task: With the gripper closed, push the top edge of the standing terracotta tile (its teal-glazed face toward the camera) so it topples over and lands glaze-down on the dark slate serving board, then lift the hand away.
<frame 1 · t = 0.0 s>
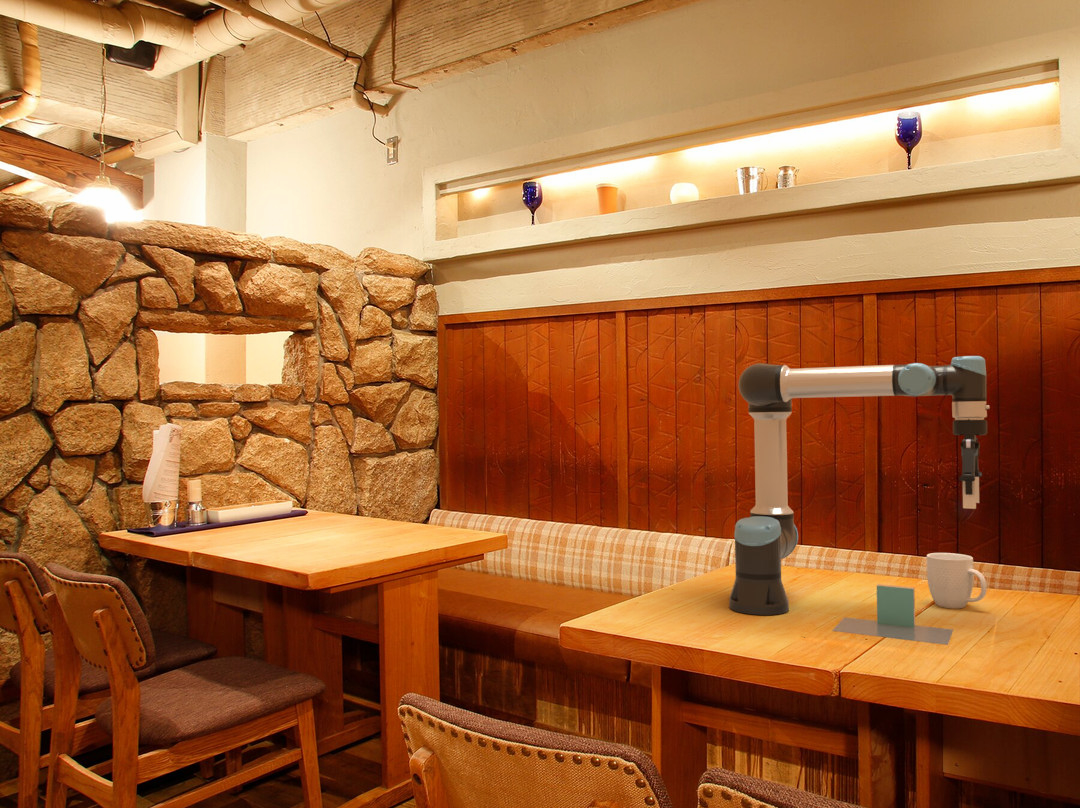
hand: (971, 505, 200), 28 cm above the table, fingers open, 13 cm apart
tile: (896, 624, 193), point 1 cm above the table, touching slate board
mug: (954, 607, 214), on the table
slate board: (892, 634, 188), on the table
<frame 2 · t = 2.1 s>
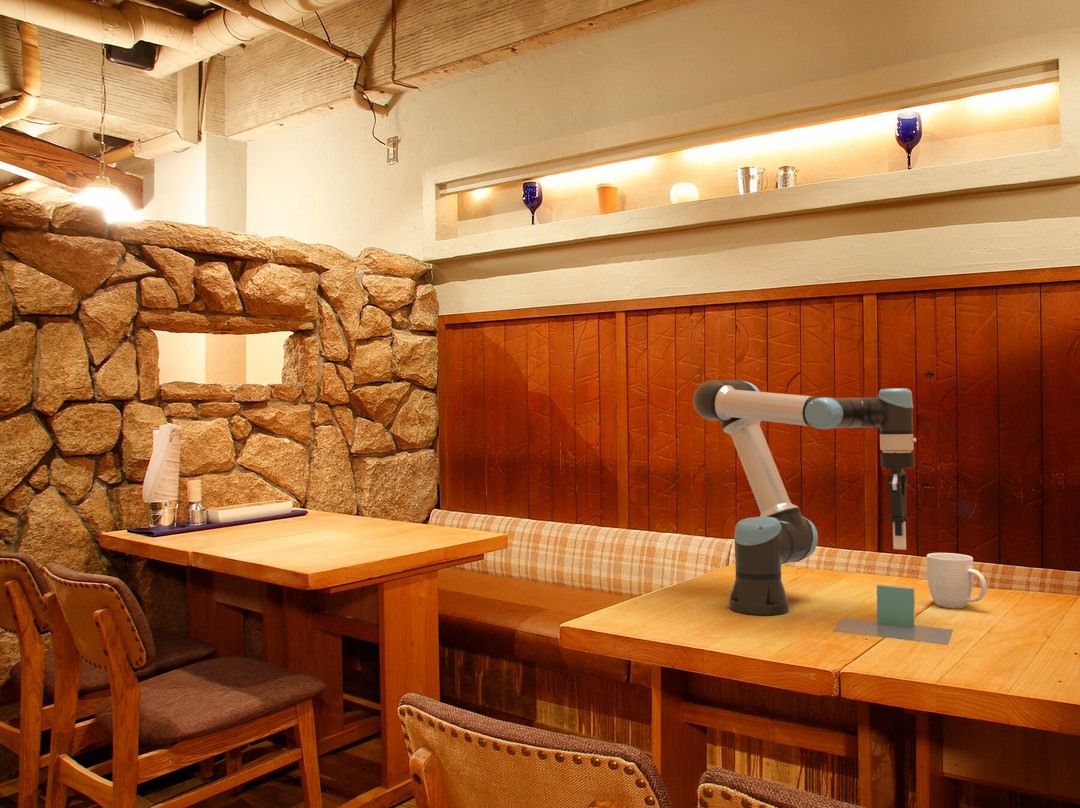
hand: (899, 548, 198), 18 cm above the table, fingers closed
nothing on the table moved.
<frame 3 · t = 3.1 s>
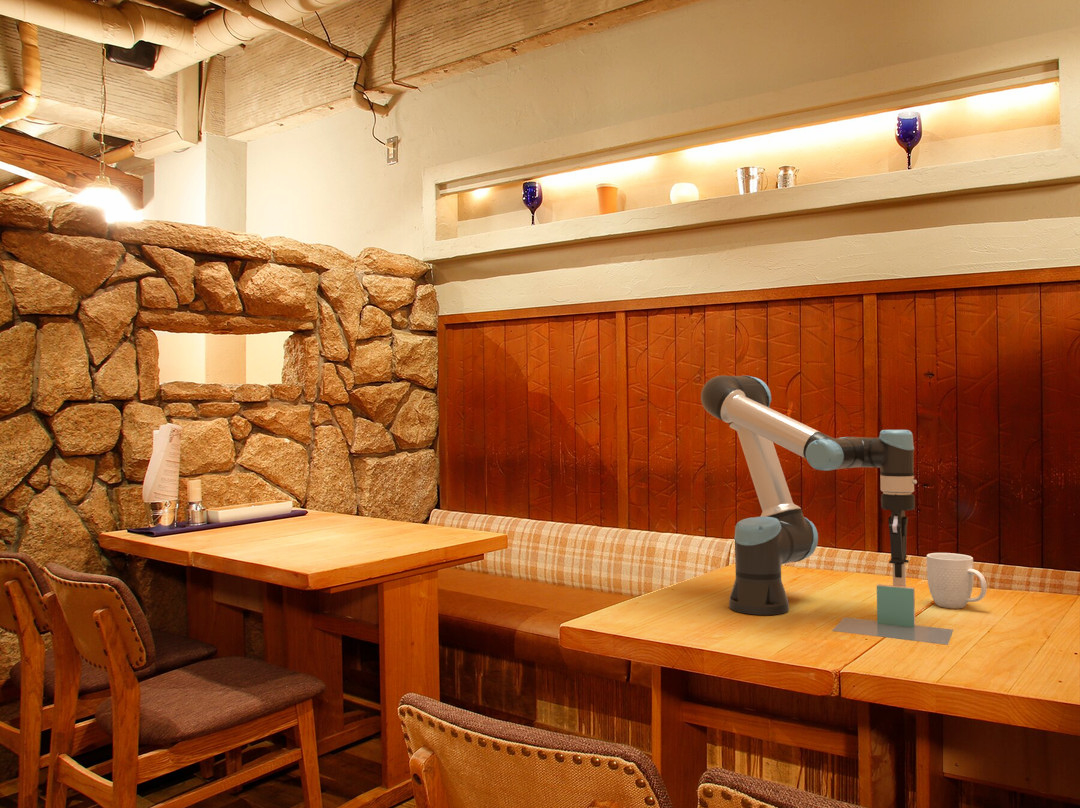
hand: (899, 590, 198), 8 cm above the table, fingers closed
nothing on the table moved.
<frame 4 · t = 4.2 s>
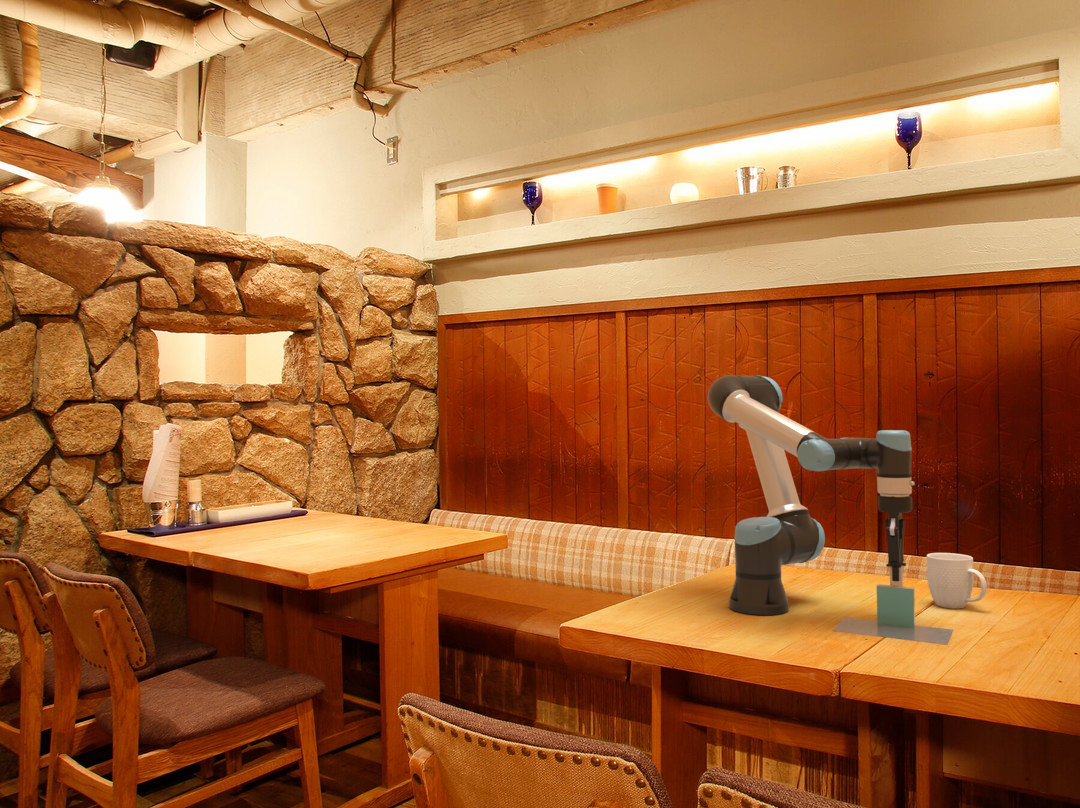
hand: (896, 593, 194), 8 cm above the table, fingers closed
tile: (896, 624, 193), point 1 cm above the table, touching gripper, slate board
everything else where it was.
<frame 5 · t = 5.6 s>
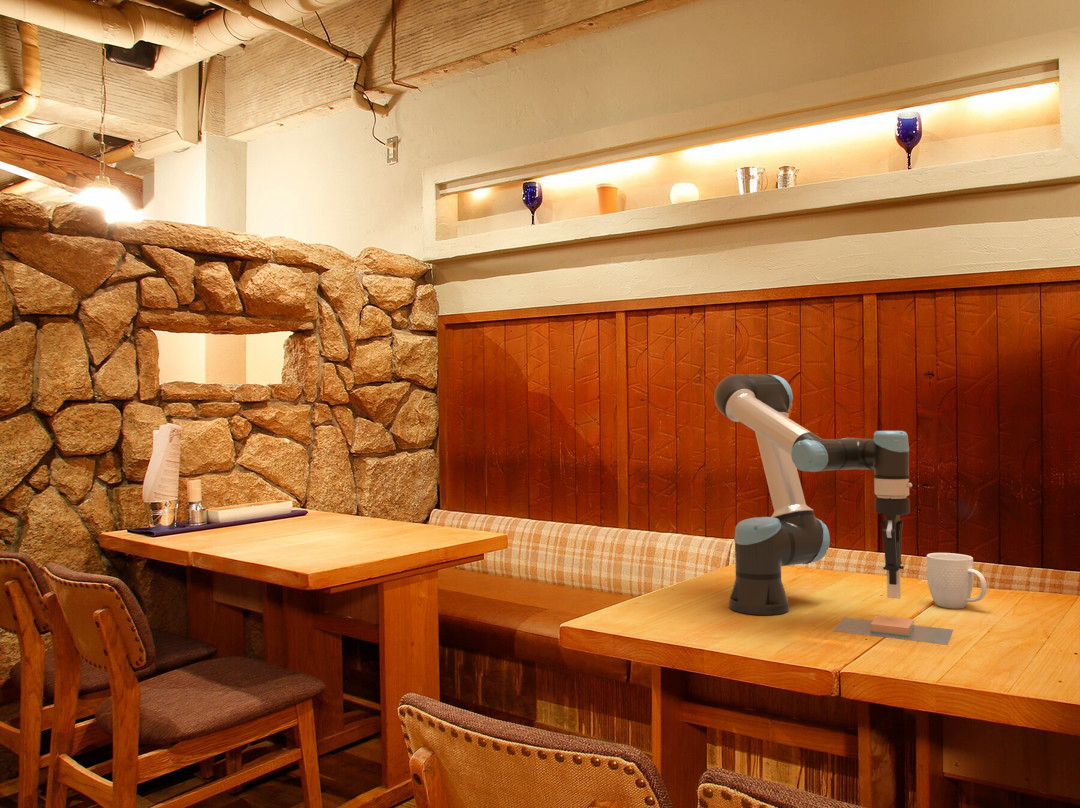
hand: (894, 597, 191), 8 cm above the table, fingers closed
tile: (895, 621, 192), point 2 cm above the table, tilted 90°, touching slate board
everything else where it was.
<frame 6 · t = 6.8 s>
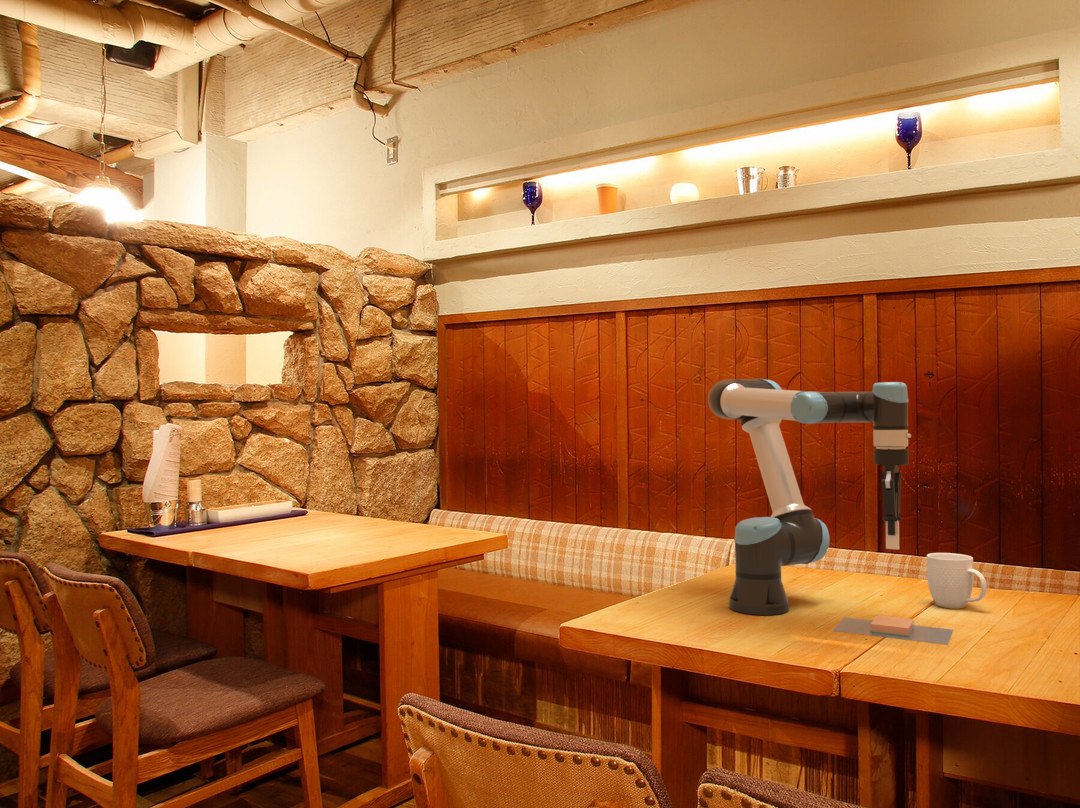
hand: (892, 548, 191), 19 cm above the table, fingers closed
nothing on the table moved.
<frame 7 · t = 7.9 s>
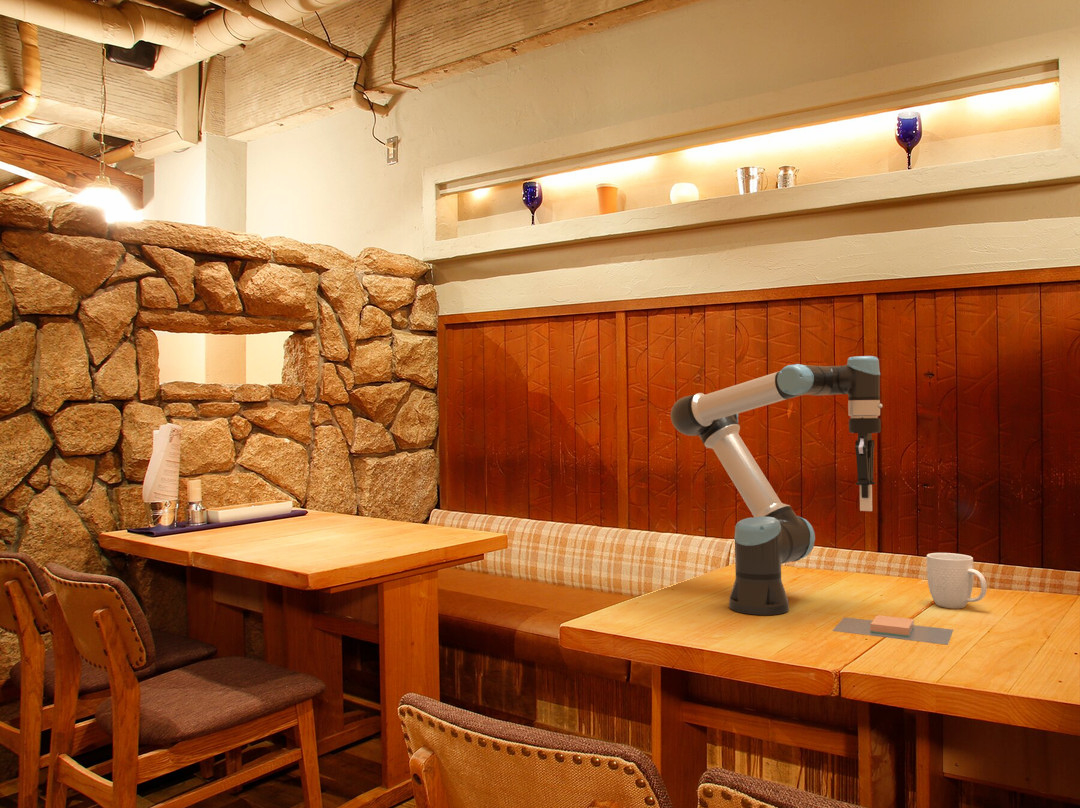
hand: (866, 510, 206), 26 cm above the table, fingers closed
nothing on the table moved.
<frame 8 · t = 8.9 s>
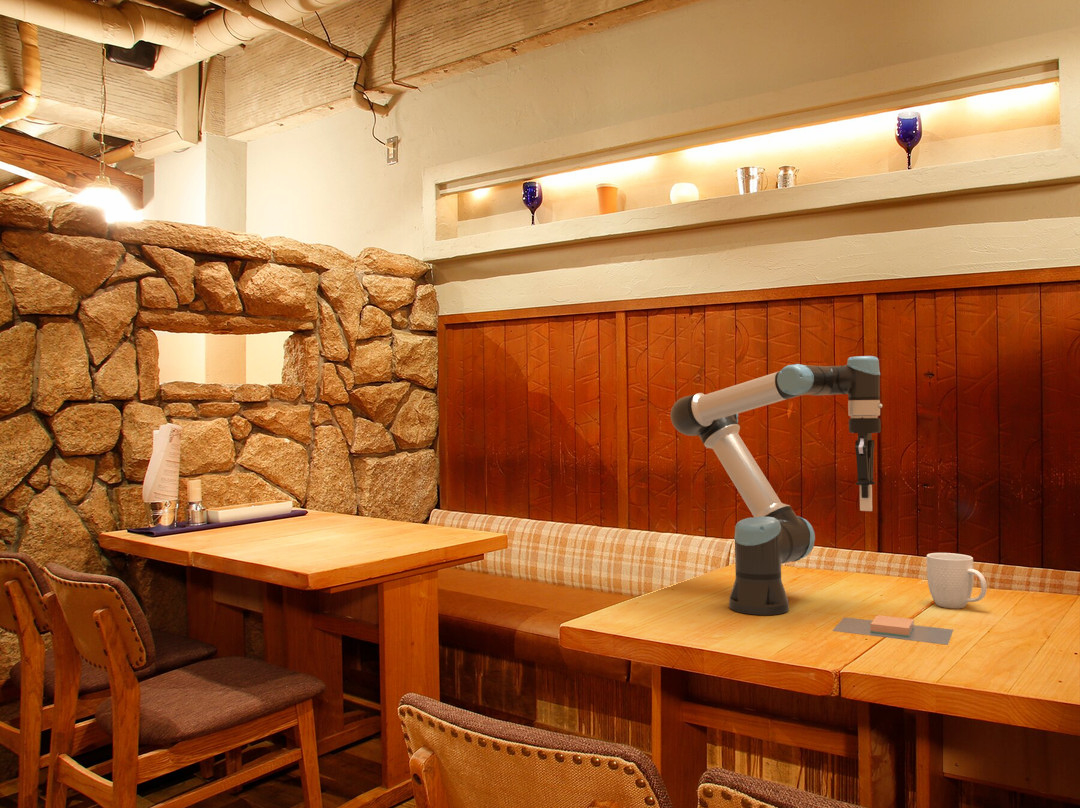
hand: (866, 510, 206), 26 cm above the table, fingers closed
nothing on the table moved.
at the end: tile tilted 90°; tile inside the target area (4.4 cm from its centre), point 2.0 cm above the table; the gripper is holding nothing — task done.
